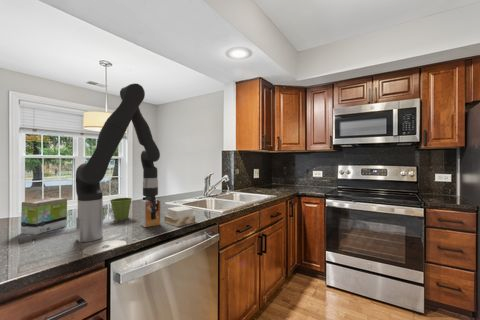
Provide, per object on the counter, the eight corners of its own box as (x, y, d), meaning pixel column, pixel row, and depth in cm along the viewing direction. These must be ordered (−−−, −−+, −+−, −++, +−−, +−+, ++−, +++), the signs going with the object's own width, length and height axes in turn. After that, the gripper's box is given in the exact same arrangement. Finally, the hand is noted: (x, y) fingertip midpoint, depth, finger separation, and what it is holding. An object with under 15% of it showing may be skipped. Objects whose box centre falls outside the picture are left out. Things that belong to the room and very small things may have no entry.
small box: (145, 227, 120) (145, 202, 120) (140, 225, 125) (140, 200, 125) (160, 224, 126) (160, 200, 126) (155, 222, 130) (155, 198, 130)
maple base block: (175, 227, 122) (175, 219, 122) (164, 223, 131) (164, 215, 131) (195, 223, 131) (195, 215, 131) (183, 219, 139) (183, 212, 139)
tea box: (37, 235, 108) (37, 202, 108) (20, 233, 110) (20, 202, 110) (67, 226, 123) (67, 197, 123) (51, 224, 125) (51, 196, 125)
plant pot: (112, 217, 142) (112, 198, 142) (133, 215, 146) (133, 197, 146) (107, 222, 131) (107, 201, 131) (130, 220, 134) (130, 200, 134)
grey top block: (176, 219, 124) (176, 211, 124) (167, 215, 131) (167, 208, 131) (193, 215, 131) (193, 208, 131) (183, 212, 138) (183, 205, 138)
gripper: (137, 185, 127) (137, 217, 127) (149, 188, 117) (149, 222, 117) (151, 184, 133) (151, 214, 133) (163, 187, 123) (163, 219, 123)
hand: (150, 218), depth 125 cm, fingers closed on small box, 6 cm apart
